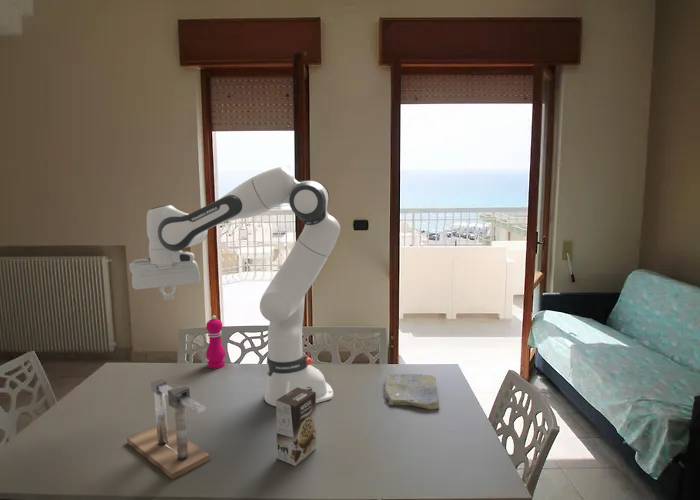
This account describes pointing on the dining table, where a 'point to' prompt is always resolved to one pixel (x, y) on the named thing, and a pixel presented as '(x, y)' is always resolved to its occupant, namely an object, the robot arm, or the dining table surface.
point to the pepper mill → (215, 344)
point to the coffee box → (296, 425)
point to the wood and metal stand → (171, 442)
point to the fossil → (411, 390)
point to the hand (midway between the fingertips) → (169, 299)
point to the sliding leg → (160, 391)
